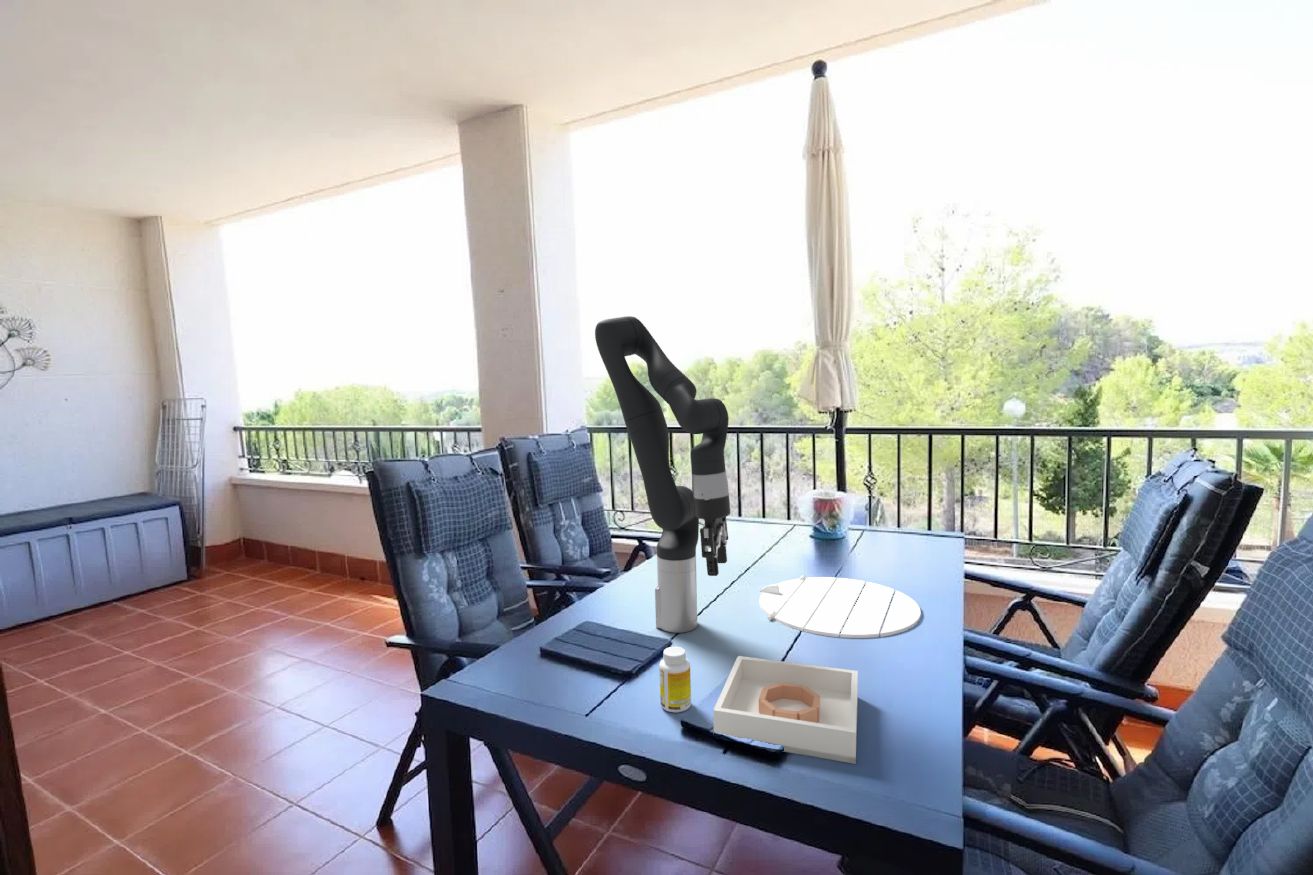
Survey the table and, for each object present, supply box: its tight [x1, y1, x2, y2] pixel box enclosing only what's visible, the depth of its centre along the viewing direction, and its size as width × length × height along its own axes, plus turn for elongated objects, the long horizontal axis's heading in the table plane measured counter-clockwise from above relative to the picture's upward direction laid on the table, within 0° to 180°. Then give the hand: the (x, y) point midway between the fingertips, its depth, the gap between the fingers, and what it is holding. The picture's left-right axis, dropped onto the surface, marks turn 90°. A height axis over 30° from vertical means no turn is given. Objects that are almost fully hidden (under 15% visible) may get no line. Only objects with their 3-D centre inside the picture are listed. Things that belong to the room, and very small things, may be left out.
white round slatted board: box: [758, 574, 922, 639], centre depth 154 cm, size 40×39×3 cm
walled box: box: [712, 655, 859, 765], centre depth 104 cm, size 22×20×5 cm
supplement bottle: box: [658, 646, 692, 713], centre depth 109 cm, size 6×6×10 cm
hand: (717, 568), depth 128 cm, fingers open, 8 cm apart
